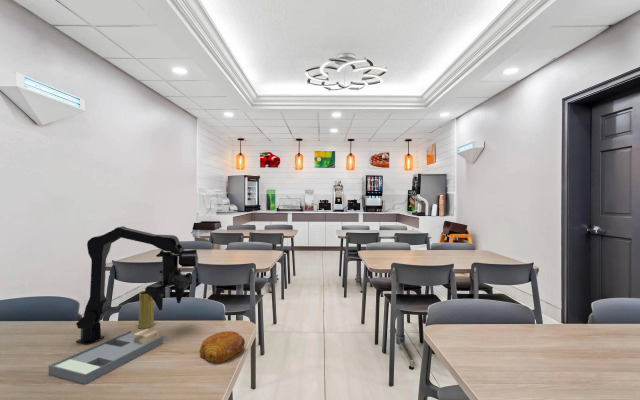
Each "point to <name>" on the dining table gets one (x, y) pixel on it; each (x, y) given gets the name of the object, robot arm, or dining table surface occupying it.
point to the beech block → (145, 336)
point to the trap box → (101, 358)
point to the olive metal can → (145, 311)
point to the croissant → (221, 346)
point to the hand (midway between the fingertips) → (169, 306)
